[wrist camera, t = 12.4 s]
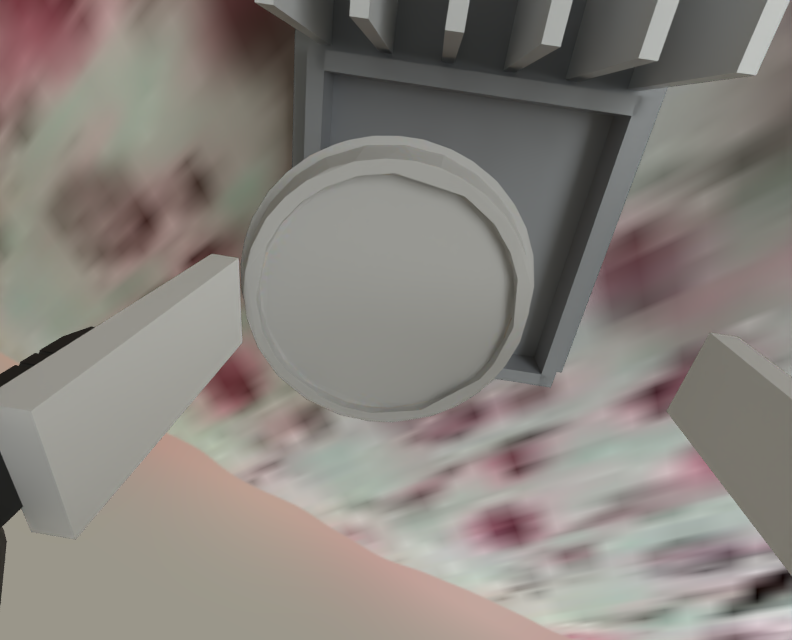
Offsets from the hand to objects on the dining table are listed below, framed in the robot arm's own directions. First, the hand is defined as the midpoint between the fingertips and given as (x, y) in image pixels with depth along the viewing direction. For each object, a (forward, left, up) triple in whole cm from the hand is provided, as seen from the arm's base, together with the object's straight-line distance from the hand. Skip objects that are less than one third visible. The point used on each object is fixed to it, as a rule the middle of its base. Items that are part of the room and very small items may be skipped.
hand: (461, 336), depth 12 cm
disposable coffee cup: (0, -3, -13) cm, 13 cm away
